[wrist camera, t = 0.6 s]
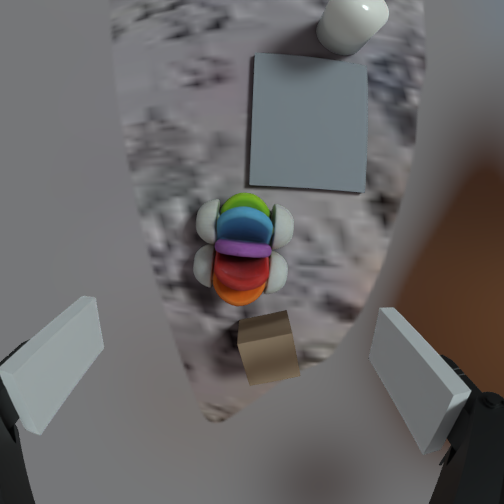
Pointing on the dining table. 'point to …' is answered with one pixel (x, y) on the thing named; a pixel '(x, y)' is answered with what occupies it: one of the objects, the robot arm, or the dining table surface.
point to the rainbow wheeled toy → (242, 247)
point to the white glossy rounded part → (350, 24)
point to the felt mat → (309, 123)
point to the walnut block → (267, 348)
